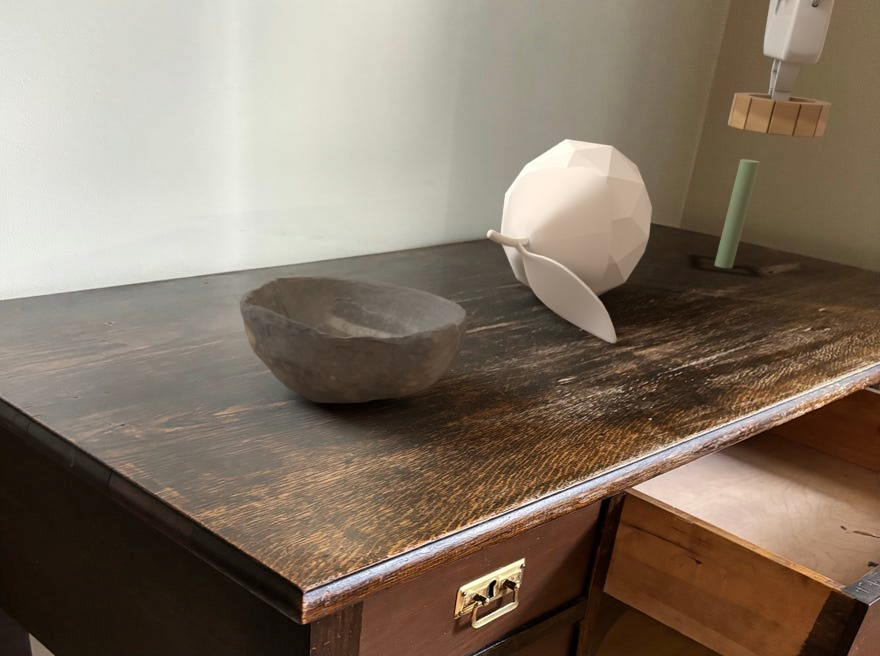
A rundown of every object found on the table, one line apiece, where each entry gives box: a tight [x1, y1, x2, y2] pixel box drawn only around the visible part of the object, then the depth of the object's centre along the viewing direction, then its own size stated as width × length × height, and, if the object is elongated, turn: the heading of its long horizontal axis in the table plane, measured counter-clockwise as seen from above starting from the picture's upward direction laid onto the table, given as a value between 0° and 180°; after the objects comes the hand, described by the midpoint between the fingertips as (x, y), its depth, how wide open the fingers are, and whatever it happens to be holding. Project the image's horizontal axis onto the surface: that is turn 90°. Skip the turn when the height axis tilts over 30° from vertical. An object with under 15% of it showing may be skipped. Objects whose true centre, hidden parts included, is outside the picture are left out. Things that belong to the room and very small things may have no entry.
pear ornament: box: [486, 138, 653, 344], centre depth 105 cm, size 16×22×28 cm
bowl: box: [239, 275, 468, 404], centre depth 78 cm, size 18×18×8 cm
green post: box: [714, 158, 761, 269], centre depth 128 cm, size 8×8×14 cm
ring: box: [727, 92, 833, 138], centre depth 103 cm, size 10×10×3 cm
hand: (775, 108), depth 107 cm, fingers closed on ring
